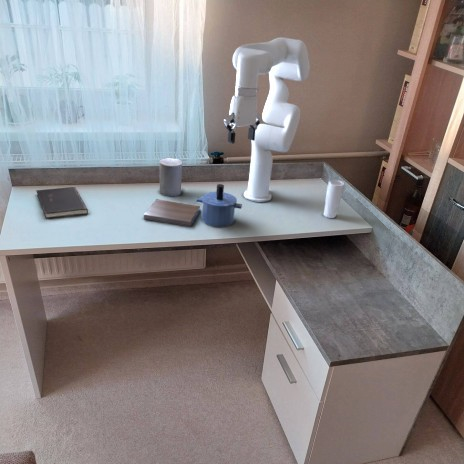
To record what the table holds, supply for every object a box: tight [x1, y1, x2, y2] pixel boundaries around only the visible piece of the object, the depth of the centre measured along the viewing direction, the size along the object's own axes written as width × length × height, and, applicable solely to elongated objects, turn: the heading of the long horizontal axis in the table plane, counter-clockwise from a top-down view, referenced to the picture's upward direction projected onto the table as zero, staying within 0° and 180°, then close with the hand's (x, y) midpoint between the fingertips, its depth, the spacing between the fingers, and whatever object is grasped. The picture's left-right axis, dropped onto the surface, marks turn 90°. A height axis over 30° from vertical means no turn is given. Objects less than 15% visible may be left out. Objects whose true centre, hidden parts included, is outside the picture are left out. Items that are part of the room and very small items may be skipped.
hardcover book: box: [35, 186, 89, 220], centre depth 195 cm, size 16×23×2 cm
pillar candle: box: [159, 157, 183, 197], centre depth 210 cm, size 10×10×15 cm
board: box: [143, 198, 201, 227], centre depth 196 cm, size 16×19×2 cm
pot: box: [195, 196, 243, 228], centre depth 194 cm, size 13×18×8 cm
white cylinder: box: [323, 179, 345, 219], centre depth 204 cm, size 7×7×15 cm
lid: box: [201, 183, 238, 207], centre depth 190 cm, size 14×14×7 cm
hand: (241, 141), depth 179 cm, fingers open, 9 cm apart
